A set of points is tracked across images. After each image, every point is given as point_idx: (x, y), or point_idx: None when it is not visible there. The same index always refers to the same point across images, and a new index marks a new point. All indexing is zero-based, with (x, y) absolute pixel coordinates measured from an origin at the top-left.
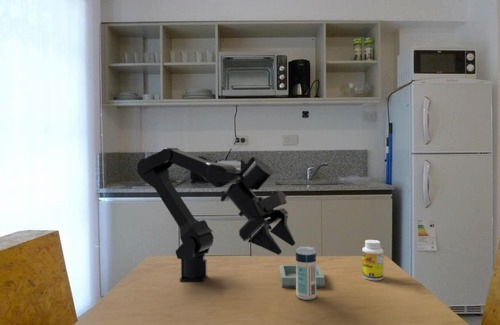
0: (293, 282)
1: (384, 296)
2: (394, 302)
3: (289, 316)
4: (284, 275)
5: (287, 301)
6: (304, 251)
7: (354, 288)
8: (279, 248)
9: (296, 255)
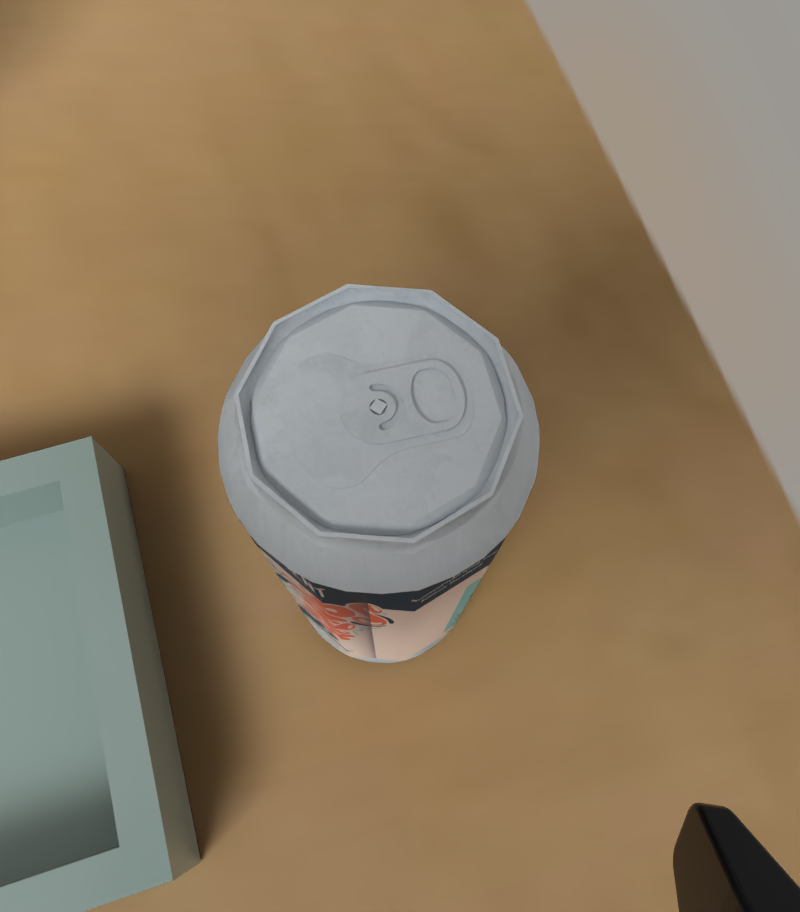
0: (163, 741)
1: (216, 100)
2: (303, 57)
3: (788, 630)
4: (96, 867)
5: (521, 716)
6: (526, 411)
7: (100, 263)
8: (752, 860)
9: (444, 582)
